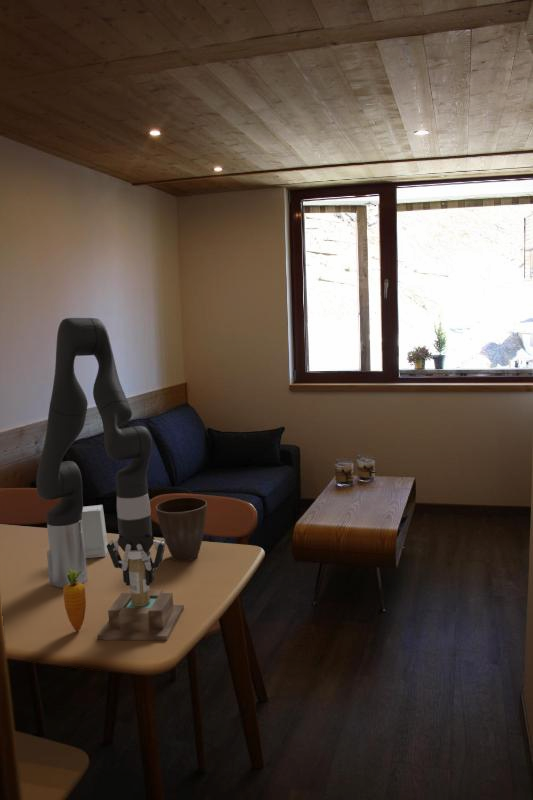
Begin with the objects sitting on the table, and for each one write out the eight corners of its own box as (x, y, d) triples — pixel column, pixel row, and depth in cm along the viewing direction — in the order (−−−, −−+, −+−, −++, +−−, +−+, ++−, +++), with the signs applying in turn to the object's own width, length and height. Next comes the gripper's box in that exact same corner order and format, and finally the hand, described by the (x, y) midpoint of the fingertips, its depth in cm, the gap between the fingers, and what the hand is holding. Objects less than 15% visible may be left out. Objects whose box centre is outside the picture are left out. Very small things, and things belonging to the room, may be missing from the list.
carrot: (68, 627, 164) (63, 566, 162) (90, 625, 164) (84, 564, 162) (64, 637, 159) (58, 574, 157) (86, 635, 159) (81, 572, 157)
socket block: (97, 639, 157) (95, 616, 156) (120, 608, 173) (118, 587, 172) (167, 640, 155) (165, 617, 154) (183, 608, 171) (182, 587, 170)
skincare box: (108, 550, 215) (104, 504, 213) (105, 557, 209) (101, 509, 207) (80, 552, 214) (76, 505, 212) (76, 559, 208) (72, 511, 206)
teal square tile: (125, 613, 161) (124, 609, 161) (132, 602, 167) (132, 598, 166) (150, 613, 160) (150, 609, 160) (157, 602, 166) (157, 598, 166)
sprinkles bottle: (153, 604, 163) (149, 548, 161) (135, 609, 160) (131, 553, 158) (145, 597, 166) (141, 543, 164) (127, 602, 164) (123, 548, 162)
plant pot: (190, 569, 196) (187, 514, 194) (149, 562, 203) (144, 509, 201) (219, 551, 209) (216, 500, 207) (179, 545, 216) (176, 495, 214)
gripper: (98, 518, 157) (104, 590, 160) (159, 518, 156) (165, 591, 158) (109, 508, 165) (115, 578, 167) (168, 508, 163) (173, 577, 165)
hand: (139, 583), depth 163 cm, fingers closed on sprinkles bottle, 4 cm apart
